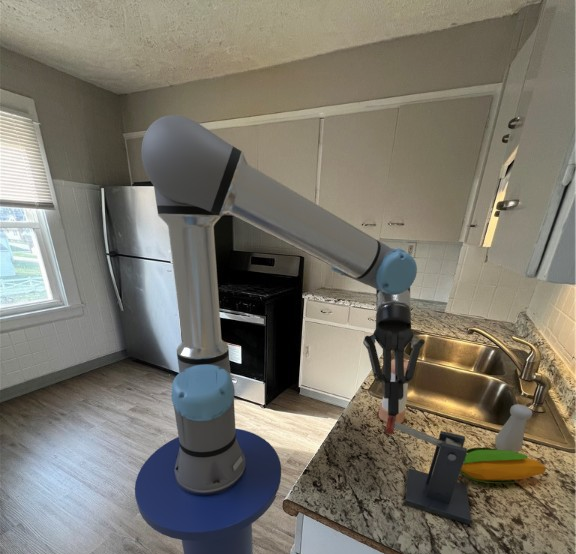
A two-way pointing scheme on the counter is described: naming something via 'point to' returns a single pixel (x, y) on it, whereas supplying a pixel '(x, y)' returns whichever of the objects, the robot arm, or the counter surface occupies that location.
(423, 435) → the lever
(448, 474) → the bracket
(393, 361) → the pepper shaker
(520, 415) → the salt shaker
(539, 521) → the counter surface
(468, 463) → the corn
